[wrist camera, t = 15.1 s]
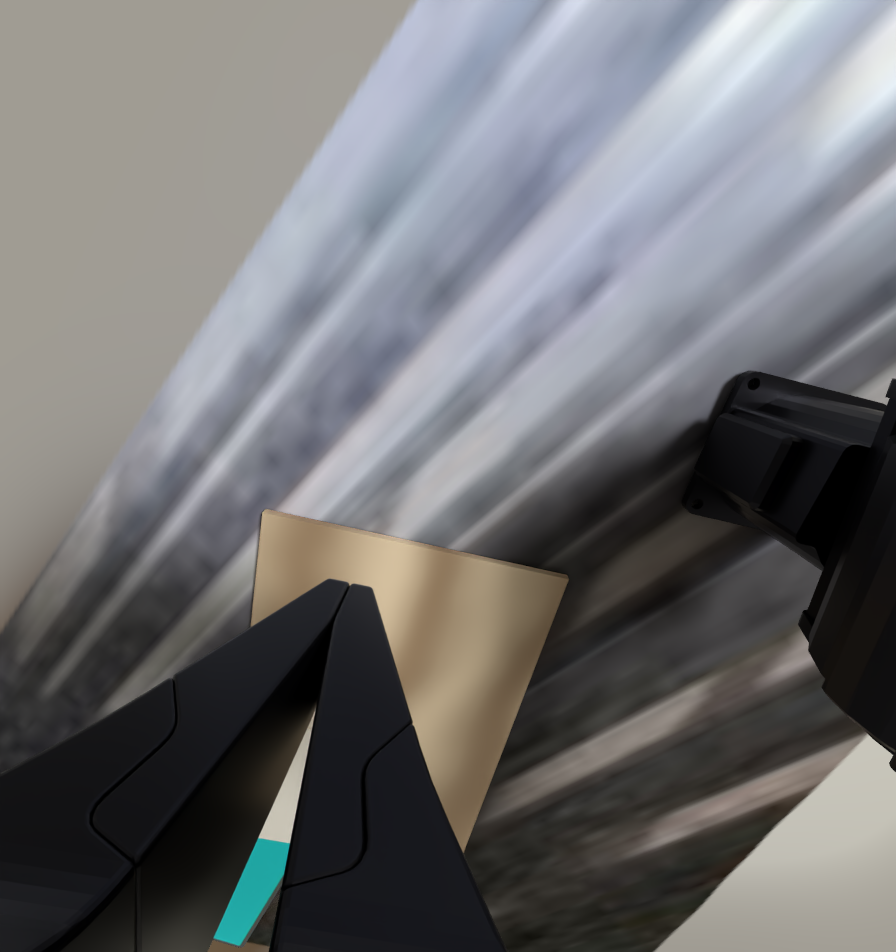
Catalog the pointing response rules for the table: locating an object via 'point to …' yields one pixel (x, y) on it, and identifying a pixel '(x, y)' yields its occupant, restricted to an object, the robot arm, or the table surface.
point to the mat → (430, 636)
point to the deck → (287, 797)
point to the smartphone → (253, 892)
